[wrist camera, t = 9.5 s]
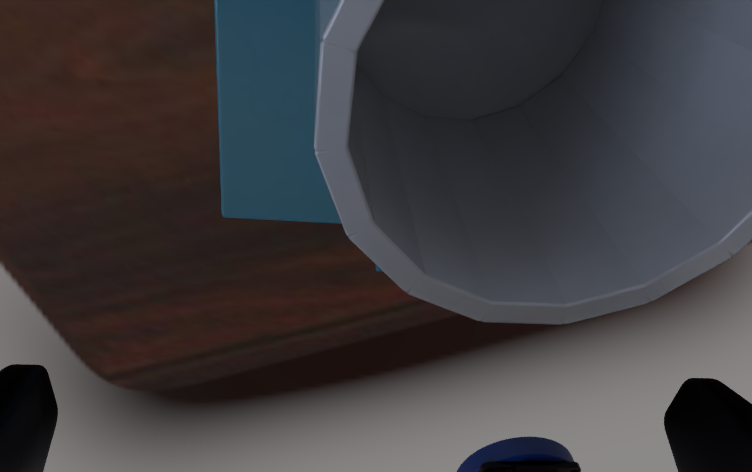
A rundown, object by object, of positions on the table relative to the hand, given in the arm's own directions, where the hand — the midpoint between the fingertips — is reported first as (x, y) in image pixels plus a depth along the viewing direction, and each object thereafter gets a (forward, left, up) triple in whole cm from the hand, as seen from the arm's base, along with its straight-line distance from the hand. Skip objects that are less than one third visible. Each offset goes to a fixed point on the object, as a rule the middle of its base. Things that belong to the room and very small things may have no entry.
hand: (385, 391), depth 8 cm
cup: (+4, -2, -8) cm, 9 cm away
